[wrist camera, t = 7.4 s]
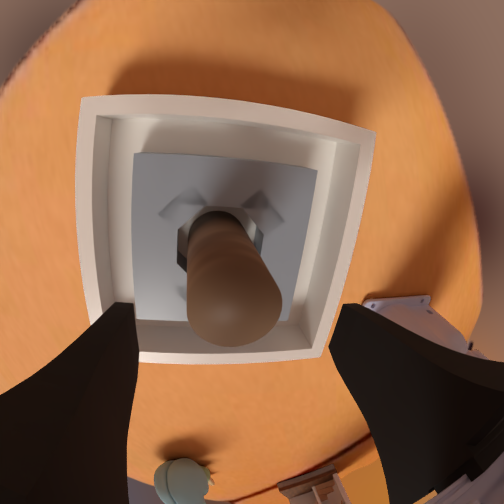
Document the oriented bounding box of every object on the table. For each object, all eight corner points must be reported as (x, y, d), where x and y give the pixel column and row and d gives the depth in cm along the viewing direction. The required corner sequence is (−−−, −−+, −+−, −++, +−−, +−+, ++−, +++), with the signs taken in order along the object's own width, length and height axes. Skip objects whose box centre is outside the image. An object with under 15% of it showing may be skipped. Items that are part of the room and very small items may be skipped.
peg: (248, 212, 17) (290, 267, 10) (241, 265, 18) (273, 345, 11) (189, 208, 16) (187, 264, 9) (186, 263, 18) (186, 346, 10)
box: (346, 131, 17) (376, 132, 14) (304, 330, 23) (320, 356, 19) (102, 105, 13) (81, 97, 10) (108, 328, 19) (99, 358, 16)
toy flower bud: (201, 521, 25) (147, 512, 19) (192, 476, 33) (142, 456, 27) (242, 514, 25) (194, 509, 19) (230, 467, 33) (184, 447, 27)
